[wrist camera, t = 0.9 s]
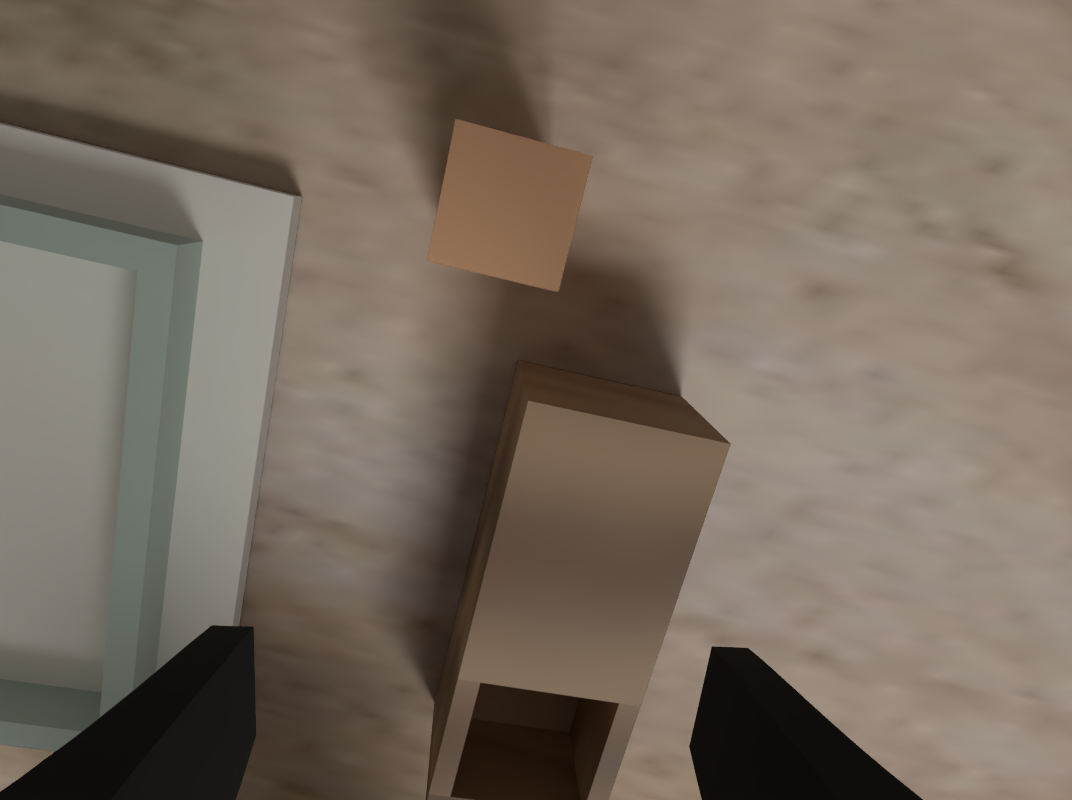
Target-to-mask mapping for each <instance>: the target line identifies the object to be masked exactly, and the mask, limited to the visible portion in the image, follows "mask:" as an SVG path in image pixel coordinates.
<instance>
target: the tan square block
mask: <svg viewBox="0 0 1072 800" xmlns="http://www.w3.org/2000/svg"><path fill="white" fill-rule="evenodd" d="M592 158H593V156H591V155H587V154H583V153H580V152H576V151H572V150H569V149H565V148H561V147H558V146H554V145H550V144H547V143H543V142H539V141H536V140H532V139H528V138H525V137H521V136H517V135H514V134H510V133H506V132H503V131H499V130H495V129H492V128H488V127H484V126H481V125H477V124H473V123H470V122H466V121H462V120H459V119H456V120H455V125H454V130H453V135H452V140H451V145H450V150H449V155H448V160H447V165H446V170H445V175H444V180H443V185H442V190H441V195H440V200H439V205H438V210H437V215H436V220H435V225H434V230H433V235H432V240H431V245H430V250H429V255H428V260H427V261H430V262H434V263H438V264H442V265H446V266H451V267H455V268H459V269H463V270H467V271H472V272H476V273H480V274H484V275H488V276H492V277H497V278H501V279H505V280H509V281H513V282H517V283H522V284H526V285H530V286H534V287H538V288H542V289H547V290H551V291H555V292H559V288H560V284H561V280H562V276H563V272H564V268H565V264H566V260H567V256H568V252H569V248H570V244H571V241H572V237H573V233H574V229H575V225H576V221H577V217H578V213H579V209H580V205H581V201H582V197H583V193H584V189H585V185H586V181H587V178H588V174H589V170H590V166H591V162H592Z"/></svg>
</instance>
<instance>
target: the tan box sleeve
mask: <svg viewBox="0 0 1072 800" xmlns="http://www.w3.org/2000/svg"><path fill="white" fill-rule="evenodd" d="M729 447H730V443H729V442H728V441H727V440H726V439H725V438H724V437H723V436H722V435H721V434H720V433H719V432H718V431H717V430H716V429H715V428H714V427H713V426H712V425H710V424H709V423H708V422H707V421H706V420H705V419H704V418H703V417H702V416H701V415H700V414H699V413H698V412H697V411H696V410H695V409H694V408H693V407H692V406H691V405H690V404H689V403H688V402H687V401H686V400H685V399H684V398H683V397H680V396H676V395H671V394H667V393H662V392H658V391H653V390H649V389H644V388H640V387H635V386H631V385H626V384H622V383H617V382H613V381H608V380H604V379H599V378H595V377H590V376H586V375H581V374H577V373H572V372H568V371H563V370H559V369H554V368H550V367H545V366H541V365H536V364H532V363H527V362H523V361H518V363H517V368H516V372H515V376H514V380H513V384H512V388H511V392H510V396H509V400H508V404H507V408H506V413H505V417H504V421H503V425H502V429H501V433H500V437H499V441H498V445H497V449H496V453H495V458H494V462H493V466H492V470H491V474H490V478H489V482H488V486H487V490H486V494H485V498H484V502H483V507H482V511H481V515H480V519H479V523H478V527H477V531H476V535H475V539H474V543H473V547H472V552H471V556H470V560H469V564H468V568H467V572H466V576H465V580H464V584H463V588H462V592H461V597H460V601H459V605H458V609H457V613H456V617H455V621H454V625H453V629H452V633H451V637H450V642H449V646H448V650H447V654H446V658H445V662H444V666H443V670H442V674H441V678H440V682H439V686H438V691H437V695H436V699H435V703H434V713H433V724H432V735H431V747H430V758H429V769H428V781H427V792H426V800H609V797H610V794H611V791H612V788H613V785H614V782H615V779H616V776H617V773H618V770H619V768H620V765H621V762H622V759H623V756H624V753H625V750H626V747H627V744H628V741H629V738H630V736H631V733H632V730H633V727H634V724H635V721H636V718H637V715H638V712H639V709H640V706H641V703H642V701H643V698H644V695H645V692H646V689H647V686H648V683H649V680H650V677H651V674H652V671H653V669H654V666H655V663H656V660H657V657H658V654H659V651H660V648H661V645H662V642H663V639H664V636H665V634H666V631H667V628H668V625H669V622H670V619H671V616H672V613H673V610H674V607H675V604H676V601H677V599H678V596H679V593H680V590H681V587H682V584H683V581H684V578H685V575H686V572H687V569H688V567H689V564H690V561H691V558H692V555H693V552H694V549H695V546H696V543H697V540H698V537H699V534H700V532H701V529H702V526H703V523H704V520H705V517H706V514H707V511H708V508H709V505H710V502H711V500H712V497H713V494H714V491H715V488H716V485H717V482H718V479H719V476H720V473H721V470H722V467H723V465H724V462H725V459H726V456H727V453H728V450H729Z"/></svg>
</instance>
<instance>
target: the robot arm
mask: <svg viewBox="0 0 1072 800" xmlns="http://www.w3.org/2000/svg"><path fill="white" fill-rule="evenodd" d="M255 737H256V714H255V671H254V627H242V626H218V625H211V626H210V627H209V628H208V629H207V630H205V631H204V632H203V633H202V634H200V635H199V636H198V637H197V638H195V639H194V640H193V641H192V642H190V643H189V644H188V645H187V646H186V647H184V648H183V649H182V650H181V651H180V652H179V653H177V654H176V655H175V656H174V657H173V658H171V659H170V660H169V661H168V662H167V663H165V664H164V665H163V666H162V667H161V668H160V669H158V670H157V671H156V672H155V673H154V674H152V675H151V676H150V677H149V678H148V679H146V680H145V681H144V682H143V683H142V684H140V685H139V686H138V687H137V688H136V689H134V690H133V691H132V692H131V693H129V694H128V695H127V696H126V697H124V698H123V699H122V700H121V701H120V702H118V703H117V704H116V705H115V706H113V707H112V708H111V709H110V710H108V711H107V712H106V713H105V714H103V715H102V716H101V717H100V718H98V719H97V720H96V721H95V722H93V723H92V724H91V725H90V726H88V727H87V728H86V729H85V730H83V731H82V732H81V733H80V734H78V735H77V736H76V737H74V738H73V739H72V740H70V741H69V742H68V743H66V744H65V745H64V746H62V747H61V748H60V749H58V750H57V751H56V752H54V753H53V754H52V755H50V756H49V757H47V758H46V759H45V760H43V761H42V762H41V763H39V764H38V765H37V766H35V767H34V768H33V769H31V770H30V771H29V772H27V773H26V774H25V775H23V776H22V777H21V778H19V779H18V780H16V781H15V782H14V783H12V784H11V785H9V786H8V787H7V788H5V789H4V790H2V791H1V792H0V800H236V797H237V794H238V791H239V788H240V785H241V782H242V779H243V776H244V773H245V769H246V766H247V763H248V760H249V756H250V753H251V750H252V747H253V743H254V740H255ZM689 747H690V751H691V755H692V760H693V764H694V769H695V773H696V777H697V782H698V786H699V790H700V794H701V797H702V800H923V799H921V798H920V797H919V796H918V795H916V794H915V793H914V792H913V791H911V790H910V789H909V788H908V787H907V786H905V785H904V784H903V783H902V782H900V781H899V780H898V779H897V778H895V777H894V776H893V775H892V774H890V773H889V772H888V771H887V770H886V769H884V768H883V767H882V766H881V765H880V764H878V763H877V762H876V761H875V760H874V759H873V758H871V757H870V756H869V755H868V754H867V753H865V752H864V751H863V750H862V749H861V748H860V747H858V746H857V745H856V744H855V743H854V742H853V741H852V740H850V739H849V738H848V737H847V736H846V735H845V734H844V733H842V732H841V731H840V730H839V729H838V728H837V727H836V726H835V725H833V724H832V723H831V722H830V721H829V720H828V719H827V718H826V717H825V716H823V715H822V714H821V713H820V712H819V711H818V710H817V709H816V708H815V707H813V706H812V705H811V704H810V703H809V702H808V701H807V700H806V699H805V698H804V697H803V696H801V695H800V694H799V693H798V692H797V691H796V690H795V689H794V688H793V687H792V686H790V685H789V684H788V683H787V682H786V681H785V680H784V679H783V678H782V677H781V676H779V675H778V674H777V673H776V672H775V671H774V670H773V669H772V668H771V667H770V666H768V665H767V664H766V663H765V662H764V661H763V660H762V659H760V658H759V657H758V656H757V655H756V654H755V653H753V652H752V651H751V650H750V649H748V648H735V647H712V648H711V653H710V657H709V662H708V666H707V671H706V675H705V680H704V684H703V688H702V693H701V697H700V702H699V706H698V711H697V715H696V720H695V724H694V728H693V733H692V737H691V742H690V746H689Z"/></svg>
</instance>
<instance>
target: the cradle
mask: <svg viewBox="0 0 1072 800" xmlns="http://www.w3.org/2000/svg"><path fill="white" fill-rule="evenodd" d="M301 201H302V197H301V196H297V195H293V194H289V193H285V192H281V191H277V190H273V189H269V188H265V187H261V186H257V185H253V184H249V183H244V182H240V181H236V180H232V179H228V178H224V177H220V176H216V175H212V174H208V173H204V172H200V171H196V170H192V169H188V168H184V167H180V166H176V165H172V164H168V163H164V162H159V161H155V160H151V159H147V158H143V157H139V156H135V155H131V154H127V153H123V152H119V151H115V150H111V149H107V148H103V147H99V146H95V145H91V144H87V143H83V142H79V141H74V140H70V139H66V138H62V137H58V136H54V135H50V134H46V133H42V132H38V131H34V130H30V129H26V128H22V127H18V126H14V125H10V124H6V123H2V122H0V744H1V745H9V746H17V747H26V748H34V749H42V750H50V751H57V750H58V749H60V748H61V747H62V746H64V745H65V744H66V743H68V742H69V741H70V740H72V739H73V738H74V737H76V736H77V735H78V734H80V733H81V732H82V731H83V730H85V729H86V728H87V727H88V726H90V725H91V724H92V723H93V722H95V721H96V720H97V719H98V718H100V717H101V716H102V715H103V714H105V713H106V712H107V711H108V710H110V709H111V708H112V707H113V706H115V705H116V704H117V703H118V702H120V701H121V700H122V699H123V698H124V697H126V696H127V695H128V694H129V693H131V692H132V691H133V690H134V689H136V688H137V687H138V686H139V685H140V684H142V683H143V682H144V681H145V680H146V679H148V678H149V677H150V676H151V675H152V674H154V673H155V672H156V671H157V670H158V669H160V668H161V667H162V666H163V665H164V664H165V663H167V662H168V661H169V660H170V659H171V658H173V657H174V656H175V655H176V654H177V653H179V652H180V651H181V650H182V649H183V648H184V647H186V646H187V645H188V644H189V643H190V642H192V641H193V640H194V639H195V638H197V637H198V636H199V635H200V634H202V633H203V632H204V631H205V630H207V629H208V628H209V627H210V626H211V625H218V626H239V625H240V618H241V611H242V604H243V597H244V590H245V584H246V577H247V570H248V563H249V556H250V549H251V543H252V536H253V529H254V522H255V515H256V508H257V502H258V495H259V488H260V481H261V474H262V467H263V461H264V454H265V447H266V440H267V433H268V426H269V419H270V413H271V406H272V399H273V392H274V385H275V378H276V372H277V365H278V358H279V351H280V344H281V337H282V331H283V324H284V317H285V310H286V303H287V296H288V290H289V283H290V276H291V269H292V262H293V255H294V248H295V242H296V235H297V228H298V221H299V214H300V207H301Z"/></svg>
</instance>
